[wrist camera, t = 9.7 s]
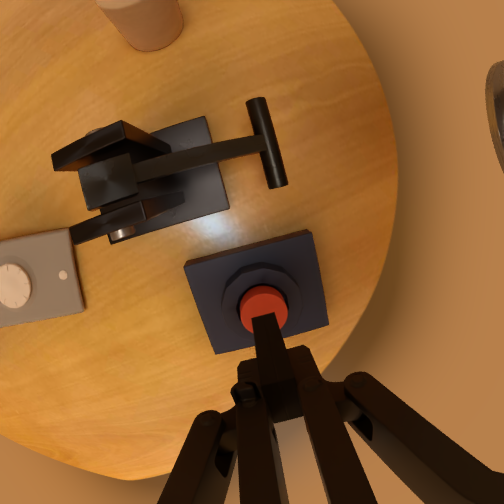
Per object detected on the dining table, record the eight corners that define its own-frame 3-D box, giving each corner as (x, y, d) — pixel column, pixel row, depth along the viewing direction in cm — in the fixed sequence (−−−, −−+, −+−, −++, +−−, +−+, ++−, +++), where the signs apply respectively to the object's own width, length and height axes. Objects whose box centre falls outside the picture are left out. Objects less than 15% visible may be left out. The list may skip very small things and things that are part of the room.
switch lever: (255, 105, 18) (273, 93, 16) (277, 186, 20) (297, 183, 17) (75, 145, 13) (70, 134, 11) (101, 243, 15) (99, 247, 13)
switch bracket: (206, 118, 22) (182, 67, 11) (230, 207, 24) (225, 232, 13) (92, 160, 22) (7, 154, 11) (115, 242, 24) (42, 287, 13)
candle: (117, 44, 19) (72, -4, 10) (149, 3, 18) (119, -54, 9) (162, 59, 20) (128, 3, 11) (195, 16, 19) (179, -48, 10)
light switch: (85, 316, 24) (-29, 336, 17) (84, 296, 29) (-15, 315, 22) (68, 229, 22) (-52, 255, 15) (72, 223, 27) (-33, 245, 20)
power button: (278, 280, 23) (282, 288, 21) (288, 318, 24) (292, 328, 22) (234, 291, 23) (234, 300, 21) (246, 329, 24) (247, 340, 22)
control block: (307, 228, 25) (318, 236, 22) (324, 317, 27) (335, 334, 24) (186, 261, 25) (179, 273, 22) (216, 345, 27) (214, 366, 24)
